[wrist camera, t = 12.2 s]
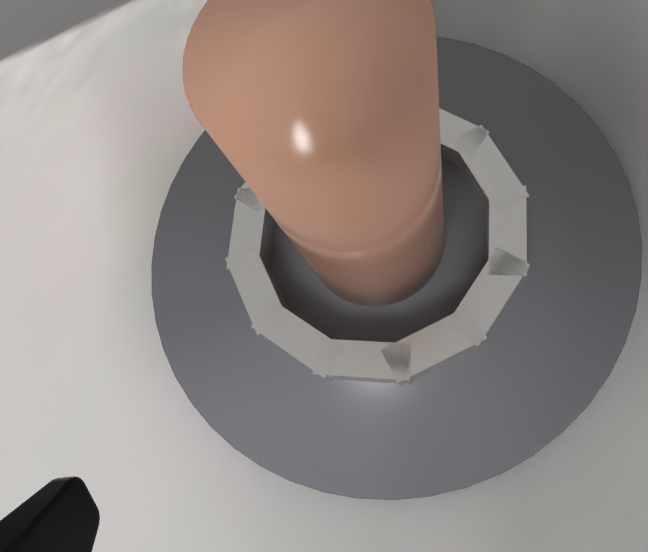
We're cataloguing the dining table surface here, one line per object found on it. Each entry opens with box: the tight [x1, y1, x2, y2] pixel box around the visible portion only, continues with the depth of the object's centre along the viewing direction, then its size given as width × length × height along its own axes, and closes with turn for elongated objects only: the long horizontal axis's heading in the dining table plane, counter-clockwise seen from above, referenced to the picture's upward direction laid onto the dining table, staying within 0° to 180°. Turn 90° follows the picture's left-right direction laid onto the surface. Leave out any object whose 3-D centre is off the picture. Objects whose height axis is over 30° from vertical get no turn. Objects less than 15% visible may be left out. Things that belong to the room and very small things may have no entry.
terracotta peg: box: [183, 0, 444, 307], centre depth 16 cm, size 5×5×11 cm
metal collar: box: [225, 108, 530, 387], centre depth 21 cm, size 11×11×1 cm
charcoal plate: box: [152, 38, 642, 500], centre depth 22 cm, size 18×18×1 cm
